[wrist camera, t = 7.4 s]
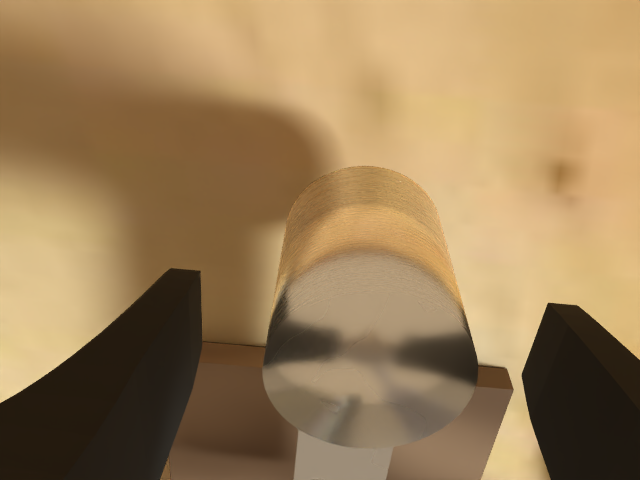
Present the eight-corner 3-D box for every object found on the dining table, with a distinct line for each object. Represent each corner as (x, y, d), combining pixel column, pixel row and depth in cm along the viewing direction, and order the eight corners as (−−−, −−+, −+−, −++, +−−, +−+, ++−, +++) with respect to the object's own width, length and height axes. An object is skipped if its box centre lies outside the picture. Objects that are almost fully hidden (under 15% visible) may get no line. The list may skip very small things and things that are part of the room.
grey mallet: (378, 509, 21) (386, 666, 17) (268, 499, 21) (249, 655, 17) (455, 173, 14) (502, 303, 10) (289, 158, 14) (265, 282, 10)
